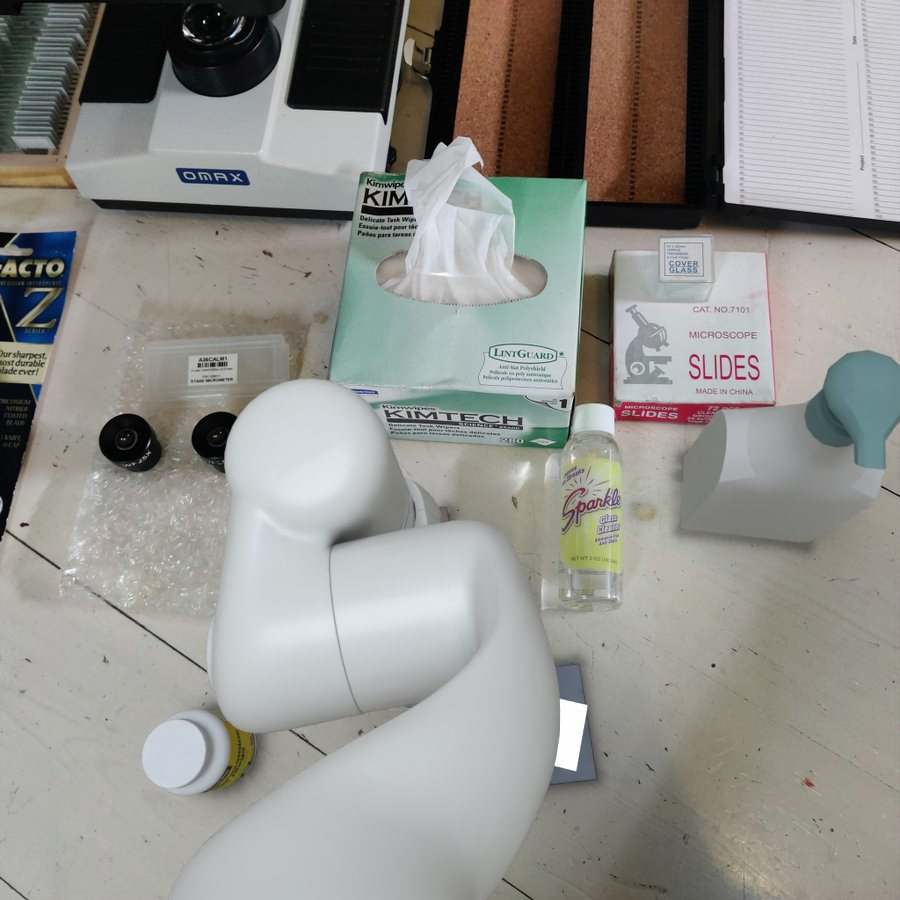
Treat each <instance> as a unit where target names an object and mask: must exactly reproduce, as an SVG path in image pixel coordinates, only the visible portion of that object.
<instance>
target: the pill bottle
mask: <svg viewBox="0 0 900 900" xmlns="http://www.w3.org/2000/svg"><path fill="white" fill-rule="evenodd" d="M257 744H258V743H257V736H256V733H249V732H245V731H242V730H239V729H238V728H236V727H234V726H233V725H232V724H231V723H230V722H229V721H228V720H227V719H226V718H225V716H224V715H223V713H222V711H221V709H208V708H206V709H205V708H187V709H183V710H179V711H176V712H174V713H172V714H171V715H169V716H168V717H166V718H165V719H164V720H163V721H162V722H161V723H160V724H158V725H157V726H156V727H154V729H152V731H151V732H150V733H149V734H148V735H147V737H146V739H145V741H144V743H143V746H142V751H141V764H142V769H143V771H144V774H145V775H146V777H147V778H148V779H149V780H150V781H151V782H152V783H153V784H154V785H156V786H158V787H160V788H162V789H163V791H166V792H167V793H169V794H172V795H174V796H178V797H180V796H181V797H192V796H198V795H201V794H205V793H210V792H214V791H218V790H224V789H226V788H229V787H231V786H234V785H235V784H237V783H239V782H240V781H241V780H242V779H243V778H244V777H245V776H246V775H247V774H248V772H249V771H250V769H252V767H253V765H254V762H255V759H256V755H257V747H258V746H257Z"/></svg>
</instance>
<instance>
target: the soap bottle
mask: <svg viewBox="0 0 900 900" xmlns="http://www.w3.org/2000/svg"><path fill="white" fill-rule="evenodd" d="M899 423H900V364H899V363H898V362H897V361H896V360H895V359H894V358H893V357H891V356H889V355H886V354H883V353H880V352H878V351H873V350H871V349H865V350H858V351H850V352H846V353H845V354H844V355H843V356H841V357H840V358H838V359H837V360H836V361H835V362H834V363H832V364H831V365H830V366H829V367H828V368H827V372H826V375H825V378H824V381H823V385H822V388H821V389H820V390H819V391H818V392H817V393H816V394H815V395H814V396H813V397H812V398H810V399H809V400H807V401H806V402H802V403H795V404H786V405H773V406H759V407H744V408H725V409H719V410H716V411H715V413H714V414H713V416H712V417H711V419H710V420H709V421H708V423H707V424H706V425H705V427H704V428H703V430H702V431H701V433H700V434H699V435H698V437H697V438H696V439H695V441H694V442H693V444H692V445H691V447H690V448H689V449H688V451H687V452H686V453H685V455H684V456H683V460H682V461H683V463H682V484H681V505H680V525H679V527H680V529H682V530H685V531H696V532H703V533H712V534H719V535H729V536H730V535H731V536H738V537H748V538H756V539H765V540H774V541H782V542H790V543H799V544H806V543H810V542H811V541H813V540H815V539H817V538H819V537H820V536H822V535H824V534H826V533H828V532H829V531H831V530H832V529H834V528H836V527H838V526H840V525H842V524H843V523H846V522H847V521H848V520H850V519H853V518H854V517H856V516H858V515H860V514H861V513H864V511H866V510H868V509H869V508H870V507H871V505H872V504H873V503H874V502H875V501H876V498H877V497H878V494H879V492H880V489H881V487H882V484H883V480H884V477H885V472H886V469H887V449H886V441H887V440H888V438H889V437H890V435H891V434H892V432H893V431H894V429H895V428H896V427H897V426H898V425H899Z"/></svg>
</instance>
